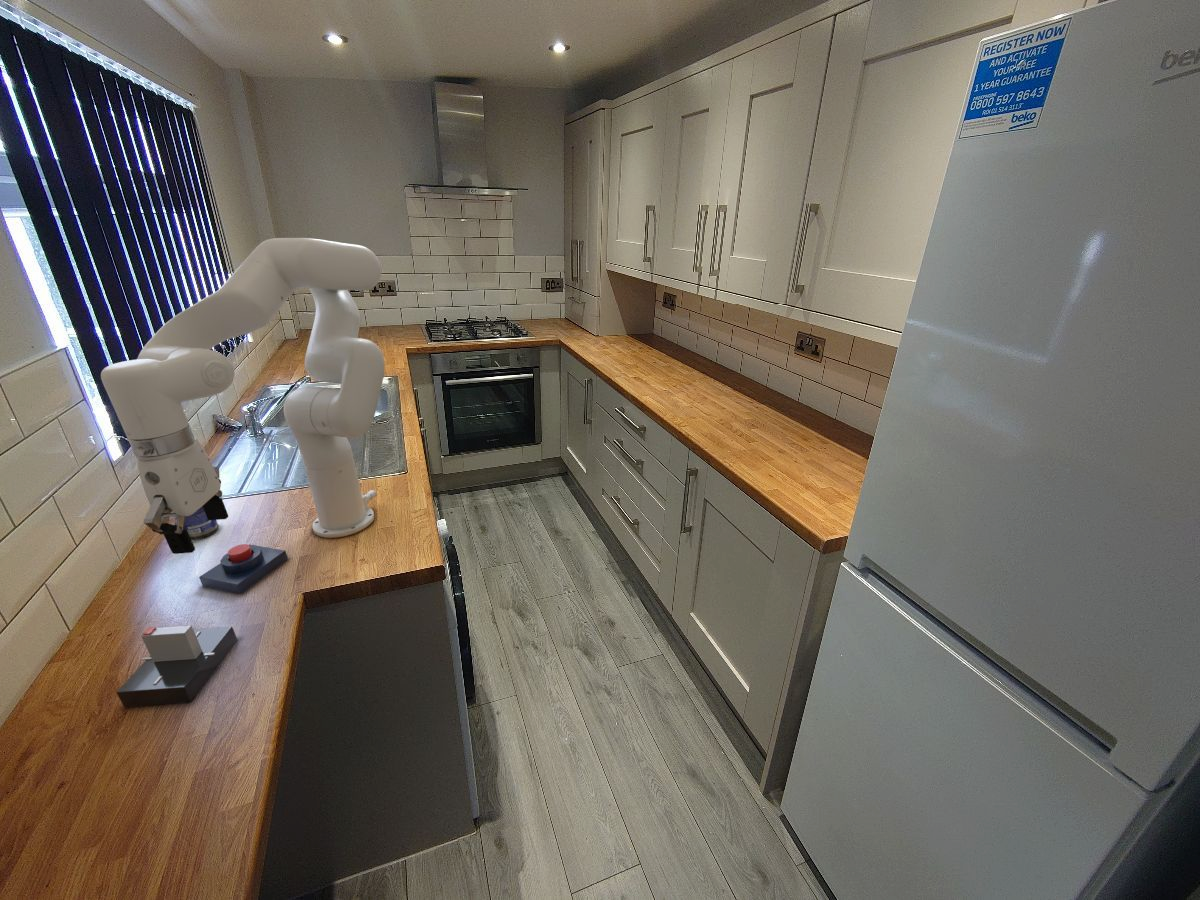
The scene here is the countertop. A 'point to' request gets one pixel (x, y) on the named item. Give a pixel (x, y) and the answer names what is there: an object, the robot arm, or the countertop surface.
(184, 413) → the robot arm
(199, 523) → the pill bottle
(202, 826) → the countertop surface
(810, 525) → the countertop surface
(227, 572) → the button box
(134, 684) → the base
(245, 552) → the button
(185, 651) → the tap lever
